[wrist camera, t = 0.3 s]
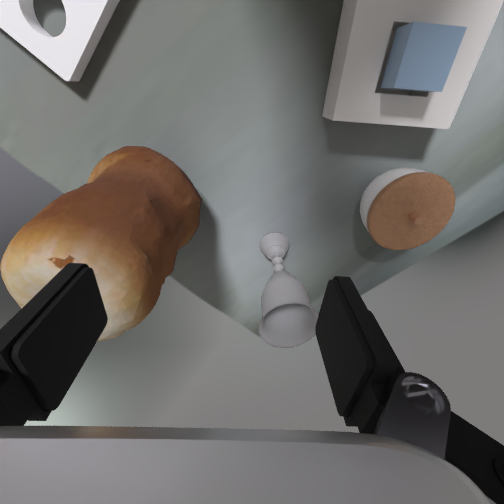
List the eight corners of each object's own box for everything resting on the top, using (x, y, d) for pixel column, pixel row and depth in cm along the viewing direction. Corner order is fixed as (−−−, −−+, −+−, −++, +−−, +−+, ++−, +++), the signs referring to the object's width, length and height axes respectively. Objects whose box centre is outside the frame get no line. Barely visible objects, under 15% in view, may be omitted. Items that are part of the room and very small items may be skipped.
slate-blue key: (397, 28, 26) (413, 21, 23) (445, 32, 26) (467, 26, 24) (380, 87, 28) (393, 87, 26) (424, 91, 29) (442, 91, 26)
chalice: (266, 220, 42) (277, 295, 27) (302, 235, 44) (332, 314, 29) (247, 255, 46) (248, 338, 30) (281, 268, 47) (298, 353, 32)
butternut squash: (102, 202, 40) (-59, 329, 19) (129, 118, 34) (-62, 168, 13) (186, 242, 44) (131, 384, 23) (224, 173, 38) (196, 280, 17)
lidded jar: (370, 237, 44) (397, 270, 36) (336, 192, 40) (358, 218, 32) (432, 196, 41) (477, 223, 33) (402, 142, 36) (445, 157, 28)
